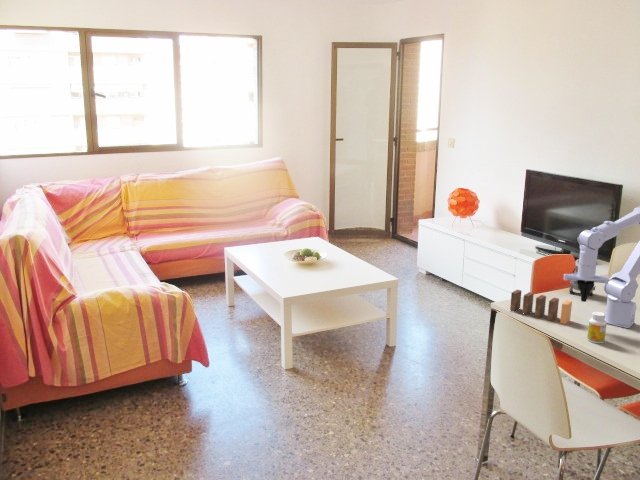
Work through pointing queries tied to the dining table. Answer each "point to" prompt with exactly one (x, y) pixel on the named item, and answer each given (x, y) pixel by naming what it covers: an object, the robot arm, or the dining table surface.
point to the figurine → (574, 283)
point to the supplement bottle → (597, 328)
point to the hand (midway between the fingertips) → (583, 300)
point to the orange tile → (566, 312)
